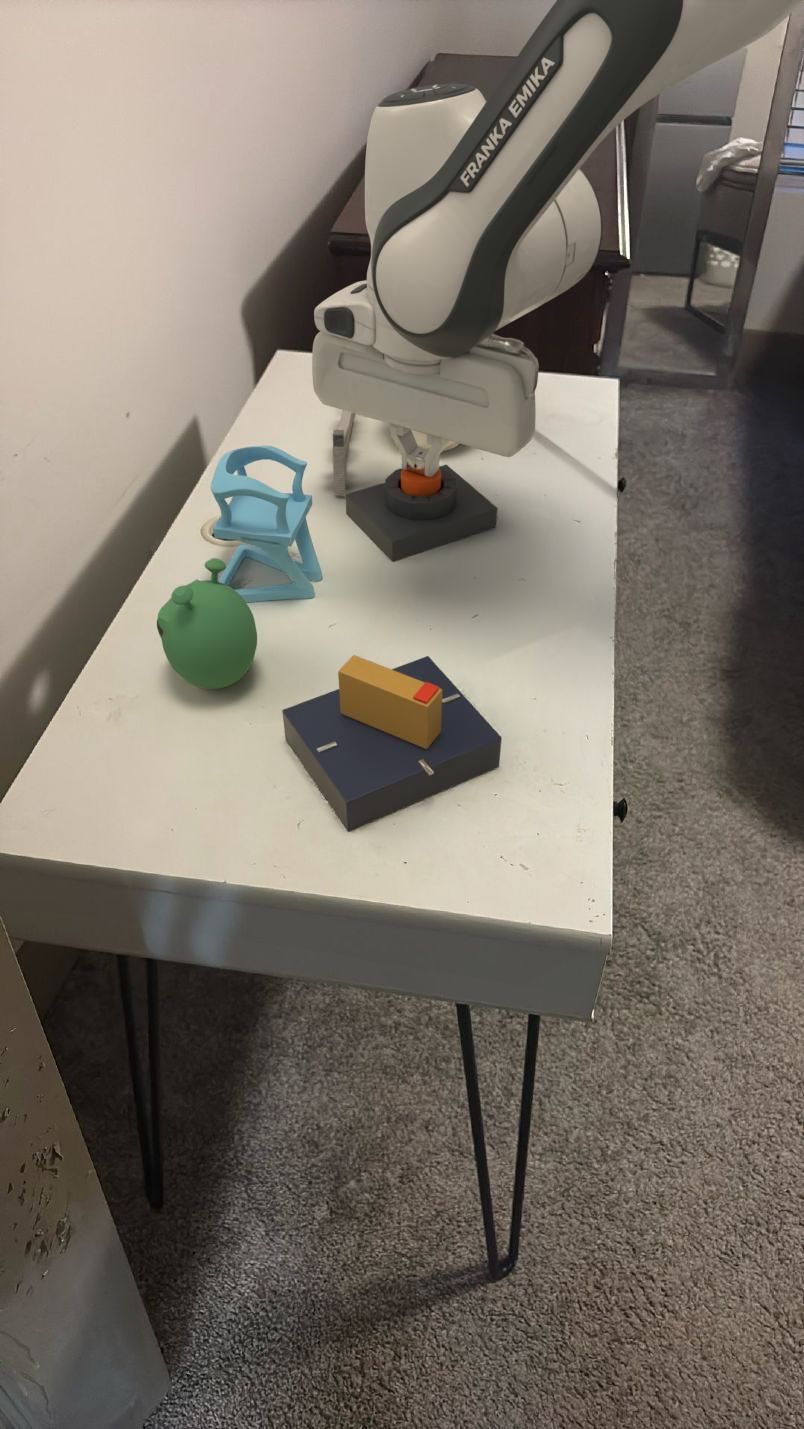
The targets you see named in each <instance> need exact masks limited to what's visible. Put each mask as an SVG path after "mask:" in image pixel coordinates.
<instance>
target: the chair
mask: <svg viewBox="0 0 804 1429" xmlns="http://www.w3.org/2000/svg"><path fill="white" fill-rule="evenodd" d="M262 460H263V461H264V460H269V461H274V462H277V463H279V464H281V465H283V466H284V467H286V468H288V469H290V470H291V471H293V472H294V473H295V475H294V477H293V480H292V481H293V482H292V488H291V490H292V493H291V492H289V493H288V492H282V491H278V490H276V489H274V488H273V487H271V486H269V485H267V484H266V483H264V482H263V481H260V480H258V479H255V478H254V477H251V476H248V473H247V471H246V467H247V466H248V465H250V464H253V463H254V462H258V461H262ZM307 465H308V462H307V461H306V460H301V459H299V458H296V457H295V456H293V455H291V454H289V453H288V452H287V451H284V450H282V449H280V448H279V447H276V446H272V445H256V446H255V445H254V446H246V447H240V448H236V449H232V450H230V451H228V452H225V453H224V454H223V455H222V456H221V457H220V458H219V461H218V462H217V464H216V467H215V470H214V472H213V475H212V479H211V484H210V491H211V493H212V495H213V497H214V500H215V501H216V503H217V505H218V507H219V510H220V517H219V518H218V520H217V522H216V523H215V525H214V526H213V528H212V531H213V532H212V533H213V538H214V539H220V540H229V541H231V540H232V541H233V540H234V541H238V542H241V543H243V544H240V545H238V547H237V548H236V550H235V551H234V553H233V555H232V557H231V558H230V560H229V562H228V563H227V565H226V569H225V570H223V572H222V574H221V576H220V578H219V579H218V582H220V583H223V584H225V585H227V586H229V585H230V584H231V582H232V580H233V578H234V576H235V575H236V573H237V571H238V569H239V568H240V566H241V564H242V562H243V560H244V559H245V558H248V559H252V560H254V561H256V562H259V563H261V564H264V565H266V566H269V567H271V568H274V569H276V570H279V571H282V572H284V573H285V574H286V575H287V576H288V577H289V579H290V580H291V581H292V582H293V583H287V584H286V583H285V584H275V585H268V586H258V587H247V588H237V589H234V590H235V591H236V592H237V593H239V594H240V595H241V596H242V598H243V599H244V600H245V602H246V603H256V602H267V601H280V600H298V599H299V600H303V599H305V600H306V599H313V598H315V596H316V594H315V589H314V586H313V583H311V582H310V581H313V582H320V581H322V580H323V573H322V569H321V565H320V562H319V559H318V557H317V553H316V550H315V547H314V543H313V540H312V537H311V533H310V530H309V526H308V521H307V515H308V514H309V512H310V511H311V509H312V507H313V495H312V494H305V493H304V491H303V477H304V474H305V470H306V468H307ZM236 471H237V472H236ZM235 472H236V473H237V474H234V473H235ZM230 498H231V499H230ZM227 499H230V501H229V503H228V502H227V501H226V500H227ZM294 543H296V546H297V550H298V553H299V557H300V559H301V562H300V561H297V560H294V559H293V557H292V555H291V554H290V552H289V547H290V548H292V546H293V544H294ZM229 587H230V586H229Z"/></svg>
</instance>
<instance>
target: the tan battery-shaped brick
mask: <svg viewBox="0 0 804 1429" xmlns="http://www.w3.org/2000/svg"><path fill="white" fill-rule="evenodd" d="M391 669H392V668H389V667H386V666H384V665H381V664H378V663H375V662H373V661H370V660H368V659H366V658H363V657H361V656H358V655H356V654H353V655H352V656H351V657H350V658H349V659H348V660H347V661H346V662H345V663H344V664H343V666H341V667H340V668H339V670H338V671H337V676H338V689H339V694H340V710H341V714H343V715H346V716H348V717H350V718H353V719H355V720H358V721H360V722H362V723H365V724H367V725H370V726H372V727H374V728H377V729H379V730H382V731H384V732H386V733H389V734H391V735H394V736H396V737H398V738H401V739H403V740H405V741H408V742H410V743H413V744H415V745H417V746H420V747H422V748H425V749H428V747H429V746H430V745H431V744H432V742H433V741H434V740H435V739H436V737H437V736H438V735H439V734H440V732H441V716H442V689H440V688H439V687H438V686H436V685H433V684H431V683H428V682H422V681H420V680H417V679H414V678H412V677H409V676H407V675H404V674H402V673H399V672H396V671H394V670H391Z"/></svg>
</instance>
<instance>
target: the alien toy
mask: <svg viewBox="0 0 804 1429" xmlns="http://www.w3.org/2000/svg"><path fill="white" fill-rule="evenodd" d="M204 567H205V569H206V570H207V571H208V572H210V573H211V579H207V580H206V579H205V580H199V579H194V580H193V581H191V582H190V583H187V584H186V585H179V586H178V587H176V588H174V590H173V591H172V593H171V596H170V598H169V599H168V600H167V601H166V602H165V603H164V605H163V606H162V607H161V608H160V609H159V611H158V612H157V619H156V628H157V632H158V635H159V637H160V639H161V644H162V650H163V652H164V654H165V656H166V659H167V661H168V662H169V664H170V666H171V668H172V669H173V671H175V673H177V675H178V676H179V677H181V678H182V680H184V681H185V682H187V683H188V684H190V685H193V686H195V687H197V688H200V689H201V688H202V689H205V690H218V689H223V688H227V687H229V686H231V685H233V684H235V683H236V682H238V681H239V680H240V679H241V678H243V677H244V675H245V674H246V673H247V672H248V670H249V669H250V667H251V665H252V664H253V661H254V659H255V655H256V652H257V647H258V646H257V645H258V632H257V625H256V620H255V617H254V614H253V612H252V609H251V608H250V606H249V605H248V602H245V600H244V599H243V598H242V596H241V595H240V594H239V593H237V592H236V591H235V590H236V589H233V588H232V587H231V586H227V585H225V584H223V583H220V582H219V574H220V573H223V572H224V571H225V569H226V567H227V564H226V563H225V562H224V561H222V560H221V559H220V558H217V557H214V558H213V557H212V558H210V559H208V560H206V561H205V562H204Z"/></svg>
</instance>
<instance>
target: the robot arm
mask: <svg viewBox="0 0 804 1429" xmlns="http://www.w3.org/2000/svg"><path fill="white" fill-rule="evenodd" d="M802 4H804V0H556V1H555V3H554V4H553V5H552V7H551V8H550V9H549V10H548V12H547V13H546V14H545V16H544V17H543V19H542V20H541V21H540V23H539V24H538V25H537V27H536V28H535V29H534V31H533V32H532V34H531V36H530V37H529V39H527V41H526V43H525V44H524V46H523V47H522V48H521V50H520V52H518V55H517V56H516V57H515V59H514V61H513V62H512V63H511V65H510V66H509V68H508V69H507V70H506V72H505V74H504V75H503V77H502V78H501V79H500V81H499V82H498V84H497V86H496V87H495V89H494V90H493V91H492V93H491V95H489V98H487V100H486V99H485V96H484V95H483V93H482V92H481V91H480V90H479V89H478V88H477V87H475V86H473V85H469V84H467V83H466V82H460V81H459V82H458V81H457V82H453V81H451V82H438V83H431V84H427V85H423V86H418V87H417V86H414V87H411V88H407V89H404V90H401V91H397V92H395V93H392V94H390V95H388V96H386V97H385V98H383V99H382V100H381V102H380V103H378V104H377V105H376V106H375V109H374V111H373V113H372V117H371V119H370V124H369V128H368V134H367V139H366V150H365V163H364V166H365V167H364V168H365V169H364V211H365V212H364V215H365V216H364V217H365V218H364V220H365V226H366V230H367V233H368V237H369V241H370V242H369V243H370V260H369V264H368V268H367V271H366V279H365V280H360V281H356V282H354V283H352V284H350V285H348V286H346V287H344V288H342V289H340V290H338V291H336V292H335V293H333V294H332V295H330V296H328V297H327V298H326V299H324V300H323V301H321V302H320V303H319V304H318V305H317V306H316V307H315V308H314V311H313V317H314V324H315V327H316V329H317V330H318V331H319V332H318V333H317V334H316V335H315V337H314V340H313V343H312V352H311V353H312V355H311V370H312V371H311V372H312V373H311V375H312V387H313V391H314V394H315V395H316V397H317V399H318V401H319V402H320V403H321V404H322V405H324V406H327V407H332V408H334V409H337V410H340V411H342V410H344V411H348V412H351V413H354V415H358V416H362V417H365V418H367V419H368V418H369V419H373V420H376V421H379V422H382V423H386V424H389V434H390V436H391V438H392V440H393V442H394V444H395V446H396V448H397V449H398V451H399V453H401V468H402V469H404V470H407V471H410V472H414V473H417V474H421V475H424V476H427V477H430V478H432V477H433V476H434V475H435V474H436V473H437V472H438V469H439V466H440V457H441V456H440V455H441V454H442V453H443V452H444V451H443V449H444V448H445V447H446V445H447V444H448V442H449V441H452V442H456V443H459V445H463V446H467V447H470V448H474V449H477V450H481V451H483V452H484V451H485V452H488V453H491V454H494V455H497V456H502V457H505V458H512V457H514V456H515V455H517V454H518V453H519V452H520V451H522V450H523V449H524V448H525V447H526V446H527V445H528V444H529V443H530V442H531V441H532V440H533V437H534V435H535V431H536V415H537V414H536V409H537V408H536V390H537V386H538V382H539V381H538V380H539V371H540V365H539V361H538V358H537V357H536V356H535V354H534V353H533V352H532V351H531V350H530V349H529V348H528V347H526V346H525V343H524V342H523V341H521V340H520V339H517V338H514V337H502V336H501V335H500V336H499V335H497V334H495V332H496V331H499V329H501V328H503V327H505V326H507V325H508V324H510V323H512V322H514V321H516V320H518V319H520V318H521V317H523V316H525V315H527V314H528V313H529V314H530V312H532V311H534V310H536V309H538V308H539V307H541V306H542V305H544V304H545V303H548V302H550V301H551V300H554V299H555V298H556V297H558V296H560V295H562V294H563V293H565V292H567V291H568V290H570V289H571V288H573V287H574V286H575V285H576V284H578V283H580V282H581V281H582V280H583V279H585V277H586V276H587V275H588V274H589V273H590V271H591V270H592V268H593V267H594V265H595V263H596V261H597V259H598V256H599V253H600V249H601V247H602V246H601V245H602V239H603V214H602V207H601V204H600V200H599V197H598V194H597V192H596V190H595V188H594V185H593V184H592V182H591V180H590V179H589V177H588V175H587V174H586V173H585V171H584V170H583V169H581V167H582V166H583V165H584V163H585V162H586V161H587V160H588V159H589V157H590V156H591V155H592V153H593V152H594V151H595V149H596V148H598V146H599V145H600V144H601V142H603V140H605V138H606V137H607V136H608V135H610V133H611V132H613V131H614V129H615V128H616V127H618V126H619V125H620V124H621V123H622V122H624V120H626V119H627V118H628V117H630V116H631V115H632V114H633V113H634V112H636V111H637V110H638V109H639V108H641V107H642V106H643V105H645V104H646V103H648V102H649V101H651V100H652V99H654V98H655V97H657V96H658V95H659V94H662V93H663V92H664V91H666V90H668V89H669V88H671V87H672V86H674V85H676V84H678V83H679V82H681V81H683V80H685V79H686V78H688V77H690V76H692V75H694V74H696V73H698V72H699V71H702V70H703V69H705V68H707V67H709V66H711V65H712V64H716V63H717V62H718V61H720V60H722V59H724V58H726V57H729V56H731V55H732V54H734V53H736V52H737V51H740V50H741V49H743V48H745V47H747V46H749V45H751V44H753V43H754V42H756V41H758V40H759V39H762V38H763V37H764V36H766V35H768V34H769V33H771V31H773V30H774V29H775V28H776V27H778V26H779V25H780V24H781V23H782V22H783V21H785V20H786V19H787V18H788V17H789V16H791V14H792V13H794V12H795V11H796V10H797V9H798V8H799V7H801V5H802ZM411 430H414V431H417V432H421V433H424V434H427V444H430V445H432V444H433V446H432V447H431V449H430V450H428V449H424V448H421V447H418V445H417V443H416V440H415V438H414V435H413V433H412V431H411ZM442 451H443V452H442Z"/></svg>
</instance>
